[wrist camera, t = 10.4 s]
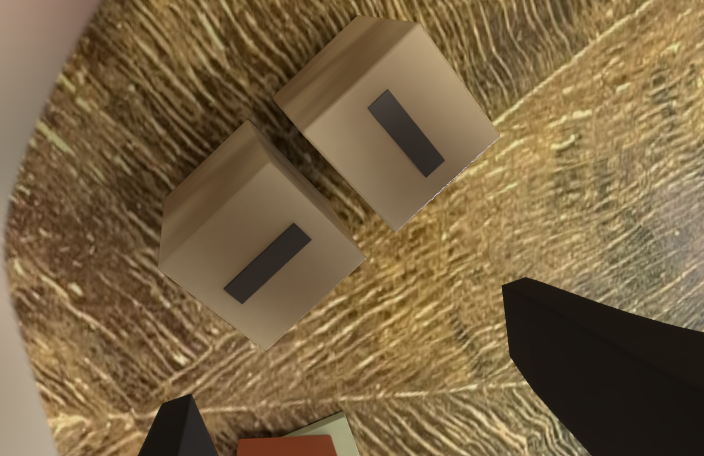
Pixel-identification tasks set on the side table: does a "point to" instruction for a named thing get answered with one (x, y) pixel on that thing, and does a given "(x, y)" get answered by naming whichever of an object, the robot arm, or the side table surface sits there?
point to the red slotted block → (287, 446)
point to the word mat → (332, 433)
